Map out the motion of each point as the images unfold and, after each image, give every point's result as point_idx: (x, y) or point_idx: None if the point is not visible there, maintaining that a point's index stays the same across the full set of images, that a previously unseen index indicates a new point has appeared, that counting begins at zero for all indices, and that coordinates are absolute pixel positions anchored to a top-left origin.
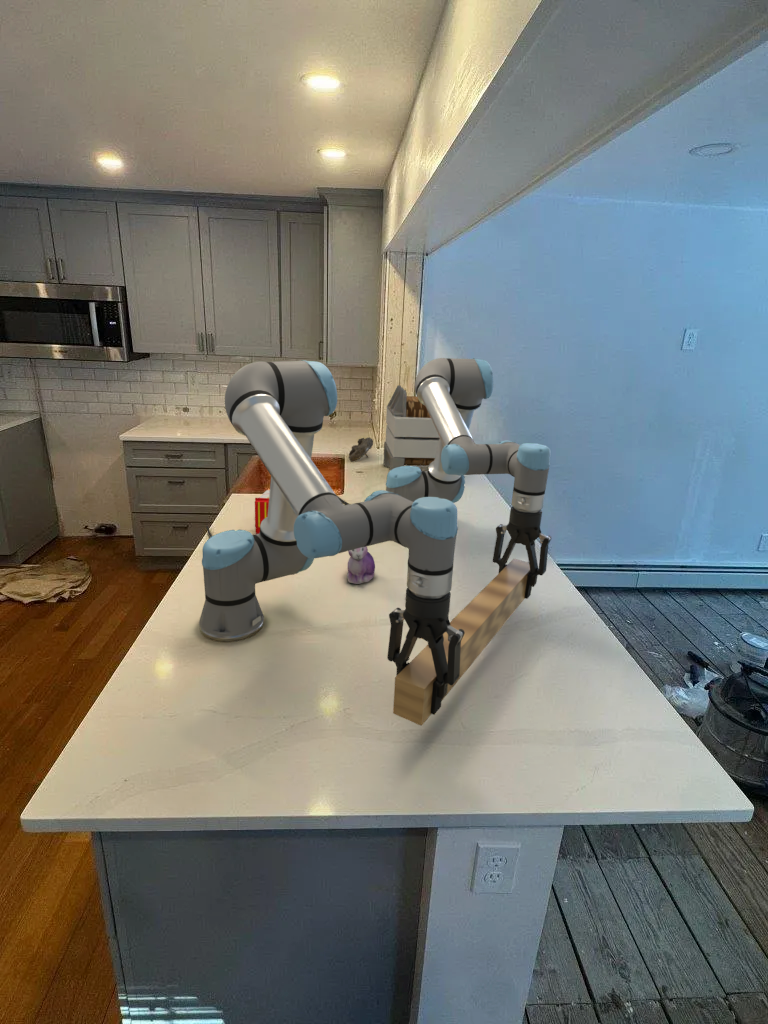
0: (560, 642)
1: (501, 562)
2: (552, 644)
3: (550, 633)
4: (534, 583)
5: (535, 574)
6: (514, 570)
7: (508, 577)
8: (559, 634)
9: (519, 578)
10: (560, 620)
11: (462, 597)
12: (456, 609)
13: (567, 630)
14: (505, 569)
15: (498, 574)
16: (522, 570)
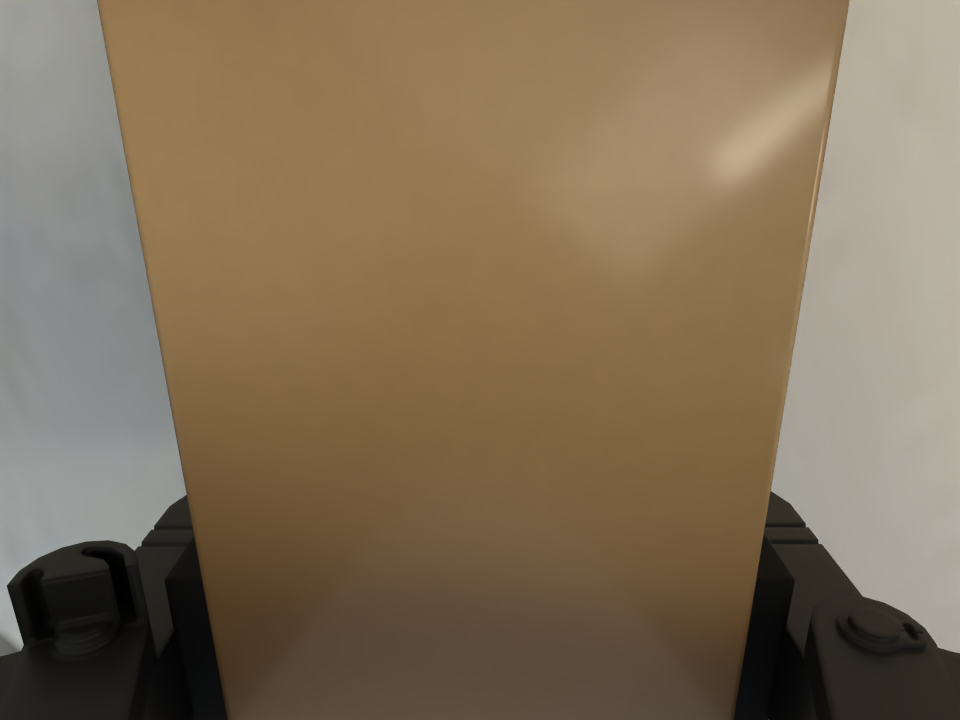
0: (6, 197)
1: (905, 682)
2: (37, 123)
3: (132, 285)
4: (161, 526)
5: (30, 623)
6: (501, 538)
7: (487, 12)
8: (72, 313)
9: (198, 169)
10: (163, 508)
11: (944, 407)
12: (951, 184)
13: (57, 405)
14: (715, 464)
15: (826, 22)
16: (345, 637)
